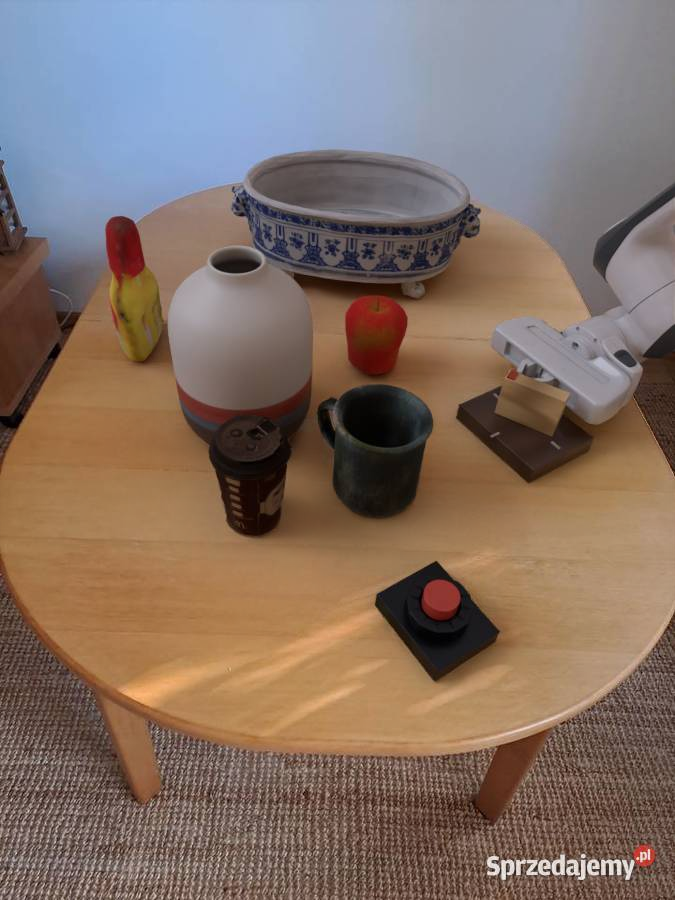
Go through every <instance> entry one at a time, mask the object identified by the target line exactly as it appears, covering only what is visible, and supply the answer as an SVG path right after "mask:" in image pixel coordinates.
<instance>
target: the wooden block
mask: <svg viewBox="0 0 675 900" xmlns="http://www.w3.org/2000/svg"><path fill="white" fill-rule="evenodd" d="M501 386H502V388H501V392H500V395H499V399H498V402H497V406H496V409H495V413H496V414H498V415H501V416H503V417H506V418H508V419H510V420H513V421H515V422H518V423H520V424H523V425H525V426H527V427H530V428H532V429H535V430H537V431H539V432H542V433H544V434H547V435H549V436H553V434H554V433H555V431H556V429H557V427H558V425H559V422H560V419H561V417H562V414H564V411H565V409H566V404H567V401H568V399H569V396H570V393H569V392H566V391H564V390H561V389H558V388H556V387H553V386H551V385H548V384H546V383H543V382H540V381H538V380H535V379H533V378H530V377H527V376H525V375H522V374H520V373H519V372H517V370H514V369H510V370H509V371H508V372H507V374H505V377H503V382H502V385H501Z"/></svg>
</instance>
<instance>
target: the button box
mask: <svg viewBox="0 0 675 900" xmlns="http://www.w3.org/2000/svg"><path fill="white" fill-rule="evenodd" d="M434 580H445V581H448V582H450V583H452V584H453V585H454V586H455V587H456V588H457V589H458V591H459V593H460V603H459V606H458V609H457V612H456V614H455V615H454V616H453V617H452V618H450V619H448V620H444V621H439V620H435V619H432V618H431V617H429V616H428V615H427V614H426V613H425V612H424V610H423V608H422V605H421V601H422V596H423V592H424V589H425V587H426V585H427V584H428V583H430V582H432V581H434ZM374 606H375V607H376V609H377V610H378V611H379V612H380V614H381V615H382V616H383V618H384V619H385V621H386V622H387V623H388V624H389V625H390V627H391V628H392V629H393V631H394V632H395V633H396V634H397V636H398V637H399V638H400V640H401V641H402V643H404V645H405V646H406V647H407V649H408V650H409V652H410V653H411V654H412V655H413V656H414V658H415V659H416V660H417V662H418V663H419V664H420V665H421V667H422V668H423V669H424V671H425V672H426V673H427V675H428V676H429V677H430V678H431V679H432V681H433V682H434V683H435V682H437V681H439V680H440V679H441V678H443V677H444V676H446V675H448V674H449V673H451V672H452V671H454V670H455V669H457V668H458V667H460V666H461V665H463V664H464V663H466V662H467V661H469V660H471V659H472V658H474V657H475V656H477V655H478V654H479V653H482V652H483V651H485V650H486V649H487V648H489V647H490V646H492V645H493V644H495V643H496V642H497V640H498V637H499V635H500V632H501V631H500V630H499V628H498V627H497V626H496V625H495V624H494V623H493V621H491V620H490V619H489V617H488V616H487V615H486V614H485V613H484V611H482V610H481V609H480V607H479V606H478V605H477V604H476V603H475V602H474V600H473V599H472V595H471V593H470V592H468V590H467V589H466V588H465V587H464V586H463V584H462V583H461V582H460V581H458V580H455V579H454V578H453V576H451V575H450V574H449V572H448V571H447V570H446V569H445V568H444V567H443V566H442V565H441V563H440V562H439V561H438V560H434V561H433V562H430V563H429V564H427V565H426V566H424V567H422V568H420V569H418V570H417V571H415V572H413V573H411V574H409V575H408V576H406V577H404V578H402V579H400V580H398V581H397V582H395V583H393V584H392V585H390V586H388V587H386V588H385V589H383V590H381V591H379V592H377V593H376V594H375V601H374Z"/></svg>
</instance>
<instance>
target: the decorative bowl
mask: <svg viewBox="0 0 675 900" xmlns="http://www.w3.org/2000/svg"><path fill="white" fill-rule="evenodd" d="M230 192H232V193H233V194H234V195H233V196H232V197H231V206H230V210H231V212H232V213H233V214H234V216H236V217H238V218H239V217H241V218H244V217H245V218H247V223H248V229H249V231H250V233H251V235H252V246H253V247H252V248H255V249H257V250H259V251H260V252H262V253H263V254H264V256H265V257H266V261H267V263H268V264H270V265H273V266H275V267H277V268H279V269H280V270H282V271H283V272H285V273H286V274H288V275H289V276H290V277H291V278H293V279H294V280H295V278H294V276H295V273H296V274H301V275H305V276H312V277H317V278H323V279H327V280H337V281H343V282H355V283H365V284H400V292H401V293H402V294H403V295H404V296H409V297H410V298H413V299H420V298H422V296H424V295H425V292H426V289H425V285H424V284H423V283H422V282H421V281H425V280H428V279H431V278H433V277H435V276H437V275H439V274H441V273H442V272H444V271H445V270H446V269H447V268H448V267H449V265H450V263H451V259H452V256H453V254H454V252H455V250H456V249H457V248H458V246H459V245H460V244H461V242H462V241H461V240H462V239H461V238H462V236H463V237H465V238H467V239H472V238H475V237H477V236H478V235H479V234H480V233H481V219H480V218H479V215H480V214H481V213H482V209H481V207H475V206H474V204H472V203H470V201H471V194H470V191H469V189H468V187H467V186H466V184H465V183H464V182H463V181H462V180H461V179H460V178H459V177H458V176H457V175H455V174H453V173H452V172H450V171H448V170H447V169H445V168H442V167H440V166H437V165H435V164H432V163H430V162H427V161H423V160H420V159H418V158H417V159H416V158H413V157H409V156H403V155H396V154H391V153H385V152H378V151H377V152H376V151H365V150H351V149H319V150H318V149H317V150H305V151H295V152H290V153H284V154H283V153H282V154H278V155H274V156H271V157H268V158H266V159H264V160H261V161H259V162H257V163H256V164H254V165H252V167H251V168H249V170H248V171H247V172H246V174H245V176H244V178H243V182H242V184H241V185H237V186H232V187H231V191H230Z"/></svg>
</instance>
